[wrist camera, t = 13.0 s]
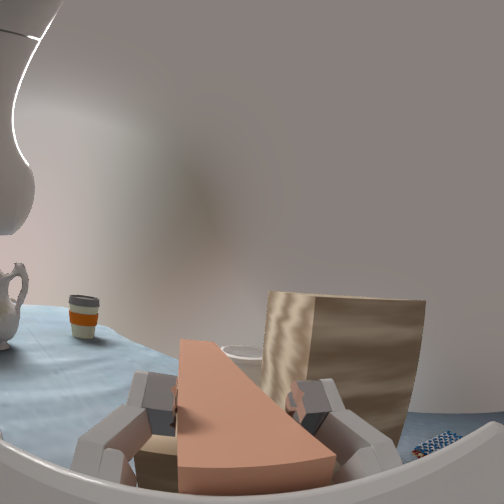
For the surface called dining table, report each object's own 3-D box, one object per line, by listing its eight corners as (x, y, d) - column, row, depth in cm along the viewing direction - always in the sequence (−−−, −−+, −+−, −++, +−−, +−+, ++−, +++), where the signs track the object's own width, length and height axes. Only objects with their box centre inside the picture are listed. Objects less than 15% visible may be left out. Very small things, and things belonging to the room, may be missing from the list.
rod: (312, 543, 5) (336, 454, 6) (183, 556, 4) (177, 466, 5) (211, 373, 31) (213, 341, 32) (178, 371, 31) (180, 338, 31)
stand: (372, 507, 20) (425, 300, 23) (276, 528, 18) (315, 296, 21) (324, 451, 36) (349, 295, 39) (251, 457, 34) (268, 290, 37)
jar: (259, 443, 38) (269, 362, 40) (203, 429, 42) (207, 351, 43) (274, 418, 48) (282, 349, 50) (225, 409, 52) (231, 342, 53)
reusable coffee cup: (103, 340, 90) (105, 300, 92) (74, 340, 80) (75, 298, 82) (90, 332, 97) (92, 296, 99) (63, 331, 87) (65, 293, 89)
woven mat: (407, 455, 31) (410, 446, 31) (444, 437, 33) (447, 428, 34) (448, 480, 21) (453, 470, 21) (482, 454, 23) (486, 445, 24)
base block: (269, 567, 12) (299, 455, 14) (156, 565, 10) (132, 448, 12) (248, 498, 24) (261, 390, 25) (164, 494, 22) (159, 383, 24)
